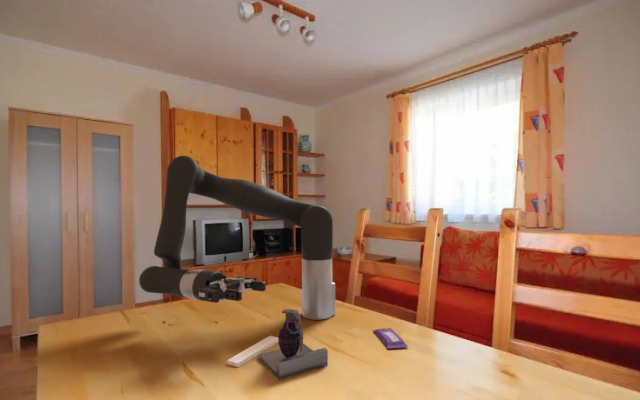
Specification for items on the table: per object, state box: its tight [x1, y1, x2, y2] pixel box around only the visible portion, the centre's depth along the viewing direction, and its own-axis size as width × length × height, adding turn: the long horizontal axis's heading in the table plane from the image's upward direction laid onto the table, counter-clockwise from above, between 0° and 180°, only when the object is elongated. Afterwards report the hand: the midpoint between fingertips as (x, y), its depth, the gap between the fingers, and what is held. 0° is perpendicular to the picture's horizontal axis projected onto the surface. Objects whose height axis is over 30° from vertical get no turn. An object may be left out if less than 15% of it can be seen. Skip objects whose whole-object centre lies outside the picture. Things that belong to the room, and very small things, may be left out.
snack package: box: [372, 327, 409, 349], centre depth 83 cm, size 12×2×5 cm
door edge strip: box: [226, 335, 279, 368], centre depth 77 cm, size 15×3×1 cm, turn 152°
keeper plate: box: [257, 343, 329, 381], centre depth 72 cm, size 11×11×3 cm
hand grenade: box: [278, 308, 304, 358], centre depth 72 cm, size 6×5×10 cm
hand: (253, 291), depth 77 cm, fingers open, 8 cm apart
